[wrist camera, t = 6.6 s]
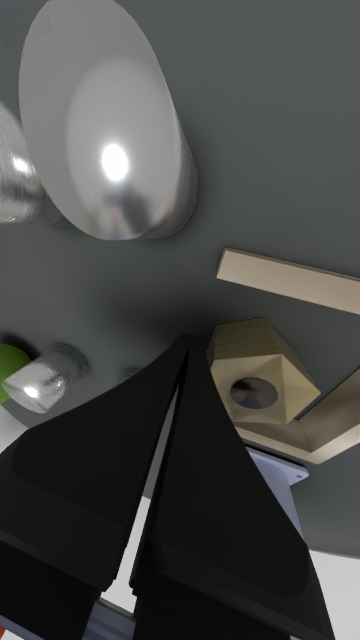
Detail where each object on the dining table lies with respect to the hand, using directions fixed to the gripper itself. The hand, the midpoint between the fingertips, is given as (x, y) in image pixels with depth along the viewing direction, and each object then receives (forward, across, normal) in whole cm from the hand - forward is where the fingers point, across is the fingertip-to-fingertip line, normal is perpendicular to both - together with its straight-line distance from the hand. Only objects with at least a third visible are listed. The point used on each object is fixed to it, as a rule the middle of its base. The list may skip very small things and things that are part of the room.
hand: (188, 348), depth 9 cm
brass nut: (+1, -3, 0) cm, 4 cm away
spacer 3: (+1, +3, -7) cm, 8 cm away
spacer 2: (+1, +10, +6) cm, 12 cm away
